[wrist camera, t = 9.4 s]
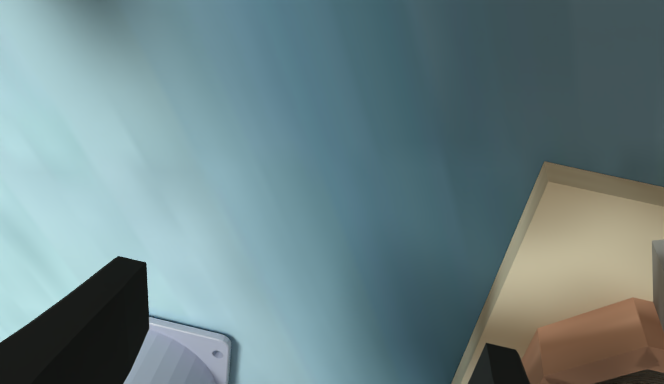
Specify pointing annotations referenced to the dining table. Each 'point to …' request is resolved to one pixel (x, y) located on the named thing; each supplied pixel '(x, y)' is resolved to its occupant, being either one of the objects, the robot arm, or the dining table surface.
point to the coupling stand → (579, 282)
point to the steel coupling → (637, 378)
